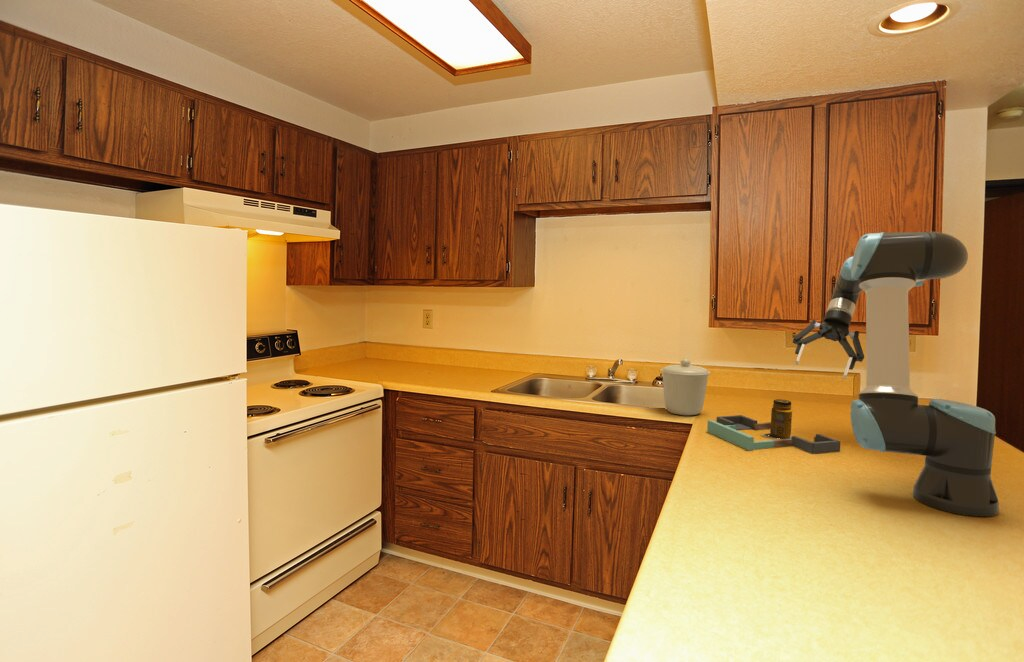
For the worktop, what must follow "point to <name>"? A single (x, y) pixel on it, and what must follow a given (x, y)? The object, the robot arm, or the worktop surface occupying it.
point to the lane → (776, 442)
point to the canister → (684, 388)
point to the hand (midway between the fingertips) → (820, 369)
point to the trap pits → (818, 446)
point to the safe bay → (736, 436)
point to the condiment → (780, 420)
